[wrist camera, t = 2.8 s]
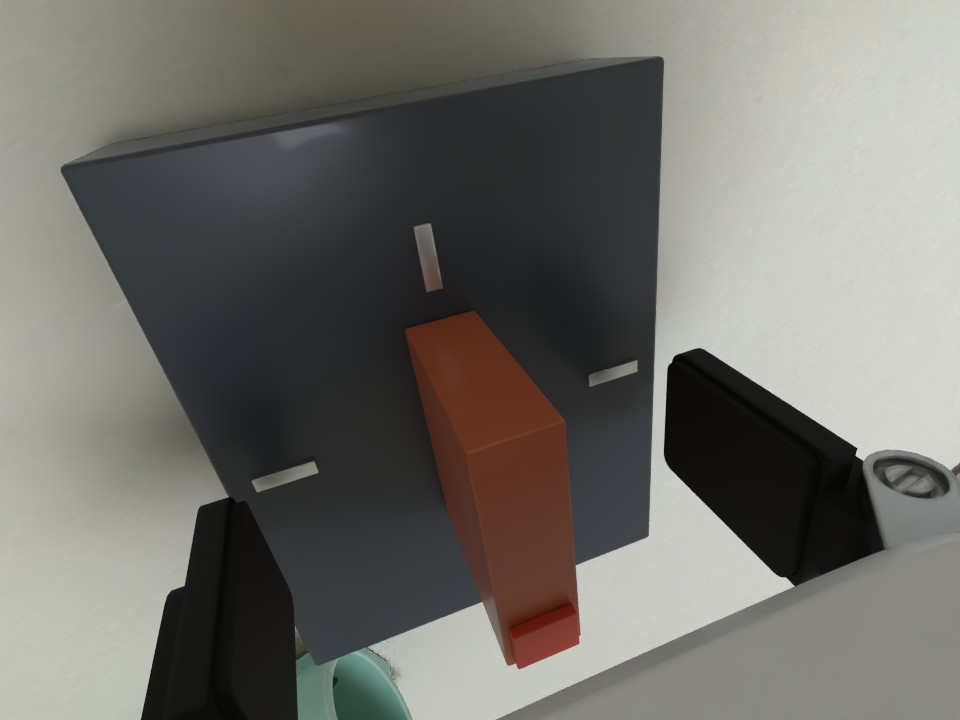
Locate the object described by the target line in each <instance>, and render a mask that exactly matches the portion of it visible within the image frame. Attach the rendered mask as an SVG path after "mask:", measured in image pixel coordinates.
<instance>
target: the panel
mask: <svg viewBox="0 0 960 720" xmlns="http://www.w3.org/2000/svg"><path fill="white" fill-rule="evenodd" d="M663 74H664V60H663V58H662V57H660V56H653V57H623V58H592V59H585V60H580V61H574V62H568V63H563V64H557V65H552V66H546V67H540V68H535V69H529V70H523V71H518V72H512V73H506V74H501V75H495V76H490V77H484V78H478V79H473V80H467V81H461V82H456V83H450V84H445V85H439V86H433V87H428V88H422V89H416V90H411V91H405V92H399V93H394V94H388V95H383V96H377V97H371V98H366V99H360V100H354V101H349V102H343V103H338V104H332V105H326V106H321V107H315V108H309V109H304V110H298V111H292V112H287V113H281V114H276V115H270V116H264V117H259V118H253V119H247V120H242V121H236V122H231V123H225V124H219V125H214V126H208V127H202V128H197V129H191V130H185V131H180V132H174V133H169V134H163V135H157V136H152V137H146V138H140V139H135V140H129V141H124V142H118V143H112V144H109V145H106V146H104V147H102V148H100V149H98V150H95V151H93V152H91V153H89V154H86V155H84V156H82V157H80V158H78V159H75V160H73V161H71V162H69V163H67V164H64V165H63V166H62V167H61V173H62V175H63V177H64V179H65V181H66V183H67V185H68V187H69V189H70V191H71V192H72V194H73V196H74V198H75V200H76V202H77V204H78V206H79V208H80V210H81V212H82V214H83V216H84V218H85V220H86V222H87V223H88V225H89V227H90V229H91V231H92V233H93V235H94V237H95V239H96V241H97V243H98V245H99V247H100V249H101V251H102V253H103V254H104V256H105V258H106V260H107V262H108V264H109V266H110V268H111V270H112V272H113V274H114V276H115V278H116V280H117V282H118V284H119V285H120V287H121V289H122V291H123V293H124V295H125V297H126V299H127V301H128V303H129V305H130V307H131V309H132V311H133V313H134V315H135V316H136V318H137V320H138V322H139V324H140V326H141V328H142V330H143V332H144V334H145V336H146V338H147V340H148V342H149V344H150V346H151V347H152V349H153V351H154V353H155V355H156V357H157V359H158V361H159V363H160V365H161V367H162V369H163V371H164V373H165V375H166V377H167V378H168V380H169V382H170V384H171V386H172V388H173V390H174V392H175V394H176V396H177V398H178V400H179V402H180V404H181V406H182V408H183V409H184V411H185V413H186V415H187V417H188V419H189V421H190V423H191V425H192V427H193V429H194V431H195V433H196V435H197V437H198V439H199V440H200V442H201V444H202V446H203V448H204V450H205V452H206V454H207V456H208V458H209V460H210V462H211V464H212V466H213V468H214V470H215V471H216V473H217V475H218V477H219V479H220V481H221V483H222V485H223V487H224V489H225V491H226V493H227V495H228V497H233V498H234V499H235V501H236V502H240V501H246V502H247V504H248V505H249V507H250V509H251V511H252V513H253V515H254V518H255V520H256V522H257V524H258V526H259V528H260V530H261V532H262V534H263V536H264V538H265V540H266V542H267V544H268V546H269V548H270V550H271V552H272V554H273V556H274V558H275V560H276V562H277V564H278V566H279V568H280V570H281V572H282V574H283V576H284V578H285V580H286V582H287V584H288V586H289V589H290V591H291V594H292V598H293V604H294V622H295V626H296V628H297V630H298V632H299V634H300V636H301V638H302V640H303V642H304V644H305V646H306V648H307V650H308V652H309V654H310V656H311V657H312V659H313V661H314V663H315V665H316V666H320V665H322V664H325V663H327V662H330V661H332V660H335V659H337V658H340V657H343V656H345V655H348V654H350V653H353V652H355V651H358V650H360V649H363V648H366V647H368V646H371V645H373V644H376V643H378V642H381V641H383V640H386V639H389V638H391V637H394V636H396V635H399V634H401V633H404V632H406V631H409V630H412V629H414V628H417V627H419V626H422V625H424V624H427V623H429V622H432V621H435V620H437V619H440V618H442V617H445V616H447V615H450V614H452V613H455V612H458V611H460V610H463V609H465V608H468V607H470V606H473V605H475V604H478V603H481V602H482V599H481V596H480V594H479V591H478V589H477V586H476V584H475V581H474V578H473V576H472V573H471V571H470V568H469V566H468V563H467V560H466V558H465V555H464V553H463V550H462V548H461V545H460V542H459V540H458V537H457V535H456V532H455V530H454V527H453V524H452V522H451V519H450V517H449V514H448V512H447V508H446V504H445V499H444V495H443V491H442V487H441V483H440V478H439V474H438V470H437V466H436V461H435V457H434V453H433V449H432V444H431V440H430V436H429V432H428V427H427V423H426V419H425V415H424V410H423V406H422V402H421V398H420V394H419V389H418V385H417V381H416V377H415V372H414V368H413V364H412V360H411V355H410V351H409V347H408V343H407V338H406V334H405V329H407V328H410V327H414V326H418V325H421V324H425V323H429V322H432V321H436V320H440V319H443V318H447V317H451V316H454V315H458V314H462V313H466V312H469V311H475V312H476V313H477V314H478V316H479V317H480V318H481V319H482V320H483V322H484V323H485V324H486V325H487V326H488V328H489V329H490V330H491V331H492V333H493V334H494V335H495V336H496V337H497V339H498V340H499V341H500V342H501V343H502V345H503V346H504V347H505V348H506V350H507V351H508V352H509V353H510V354H511V356H512V357H513V358H514V359H515V360H516V362H517V363H518V364H519V365H520V367H521V368H522V369H523V370H524V371H525V373H526V374H527V375H528V376H529V377H530V379H531V380H532V381H533V382H534V384H535V385H536V386H537V387H538V388H539V390H540V391H541V392H542V393H543V394H544V396H545V397H546V398H547V399H548V401H549V402H550V403H551V404H552V405H553V407H554V408H555V409H556V410H557V411H558V413H559V414H560V415H561V416H562V418H563V419H564V420H565V425H566V439H567V453H568V467H569V481H570V495H571V509H572V523H573V537H574V552H575V565H578V564H580V563H583V562H585V561H588V560H590V559H593V558H595V557H598V556H601V555H603V554H606V553H608V552H611V551H613V550H616V549H618V548H621V547H624V546H626V545H629V544H631V543H634V542H636V541H639V540H641V539H644V538H647V537H648V536H649V510H650V479H651V448H652V416H653V385H654V354H655V323H656V292H657V261H658V230H659V199H660V168H661V137H662V105H663Z"/></svg>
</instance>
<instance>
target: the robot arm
mask: <svg viewBox="0 0 960 720" xmlns="http://www.w3.org/2000/svg"><path fill="white" fill-rule="evenodd" d="M856 451H857V448H856V447H854V446H853V445H851V444H850V443H848V442H847V441H845V440H843V439H842V438H840V437H839V436H837V435H836V434H834V433H833V432H831V431H830V430H828V429H826V428H825V427H823V426H822V425H820V424H819V423H817V422H816V421H814V420H812V419H811V418H809V417H808V416H806V415H805V414H803V413H802V412H800V411H799V410H797V409H795V408H794V407H792V406H791V405H789V404H788V403H786V402H785V401H783V400H781V399H780V398H778V397H777V396H775V395H774V394H772V393H771V392H769V391H768V390H766V389H764V388H763V387H761V386H760V385H758V384H757V383H755V382H754V381H752V380H750V379H749V378H747V377H746V376H744V375H743V374H741V373H740V372H738V371H736V370H735V369H733V368H732V367H730V366H729V365H727V364H726V363H724V362H723V361H721V360H719V359H718V358H716V357H715V356H713V355H712V354H710V353H709V352H707V351H705V350H704V349H701V348H697V349H693V350H690V351H687V352H684V353H681V354H678V355H676V356H674V358H673V361H672V363H671V364H669V366H668V371H667V393H666V416H665V439H664V457H665V461H666V463H667V465H668V466H669V468H670V469H671V470H672V471H673V472H674V473H675V474H676V475H677V476H678V477H679V478H680V479H681V480H682V481H683V482H684V483H685V484H686V485H687V486H688V487H689V488H690V489H691V490H692V491H693V492H694V493H695V494H696V495H697V496H698V497H699V498H700V499H701V500H702V501H703V502H704V503H705V504H706V505H707V506H708V507H709V508H710V509H711V510H712V511H713V512H714V513H715V514H716V515H717V516H718V517H719V518H720V519H721V520H722V521H723V522H724V523H725V524H726V525H727V526H728V527H729V528H730V529H731V530H732V531H733V532H734V533H735V534H736V535H737V536H738V537H739V538H740V539H741V540H742V541H743V542H744V543H745V544H746V545H747V546H748V547H749V548H750V549H751V550H752V551H753V552H754V553H755V554H756V555H757V556H758V557H759V558H760V559H761V560H762V561H763V562H764V563H765V564H766V565H767V566H768V567H769V568H770V569H771V570H772V571H773V572H774V573H775V574H776V575H778V576H780V577H786V578H787V579H788V580H789V581H790V582H791V583H792V584H793V585H794V586H795V587H793V588H791V589H788V590H786V591H784V592H782V593H779V594H777V595H775V596H772V597H770V598H768V599H766V600H763V601H761V602H759V603H757V604H754V605H752V606H750V607H747V608H745V609H743V610H741V611H738V612H736V613H734V614H731V615H729V616H727V617H725V618H722V619H720V620H718V621H716V622H713V623H711V624H709V625H706V626H704V627H702V628H700V629H697V630H695V631H693V632H691V633H688V634H686V635H684V636H682V637H679V638H677V639H675V640H673V641H670V642H668V643H666V644H664V645H661V646H659V647H657V648H655V649H652V650H650V651H648V652H646V653H643V654H641V655H639V656H637V657H634V658H632V659H630V660H628V661H625V662H623V663H621V664H619V665H617V666H614V667H612V668H610V669H608V670H605V671H603V672H601V673H599V674H596V675H594V676H592V677H590V678H587V679H585V680H583V681H581V682H578V683H576V684H574V685H572V686H570V687H567V688H565V689H563V690H561V691H558V692H556V693H554V694H552V695H550V696H547V697H545V698H543V699H541V700H539V701H536V702H534V703H532V704H530V705H527V706H525V707H523V708H521V709H519V710H516V711H514V712H512V713H510V714H508V715H505V716H503V717H501V718H499V719H497V720H960V481H959V480H958V479H957V477H956V476H955V475H954V473H953V472H951V471H950V470H949V469H947V468H946V467H945V466H944V465H942V464H940V463H938V462H936V461H934V460H933V459H931V458H928V457H925V456H922V455H919V454H917V453H912V452H907V451H902V450H884V451H878V452H875V453H873V454H871V455H869V456H867V458H866V459H865V460H864V461H862V460H861V459H859V458H858V457H856V456H855V455H856ZM141 720H298V703H297V676H296V649H295V622H294V604H293V598H292V594H291V591H290V589H289V586H288V584H287V582H286V580H285V578H284V576H283V574H282V572H281V570H280V568H279V566H278V564H277V562H276V560H275V558H274V556H273V554H272V552H271V550H270V548H269V546H268V544H267V542H266V540H265V538H264V536H263V534H262V532H261V530H260V528H259V526H258V524H257V522H256V520H255V518H254V515H253V513H252V511H251V509H250V507H249V505H248V504H247V502H246V501H240V502H236V501H235V499H234V498H233V497H228V498H225V499H222V500H219V501H215V502H212V503H209V504H206V505H203V506H201V507H200V508H199V509H198V513H197V519H196V524H195V530H194V536H193V542H192V547H191V553H190V559H189V565H188V570H187V576H186V582H185V586H183V587H180V588H178V589H175V590H172V591H171V592H170V593H169V594H168V596H167V599H166V602H165V605H164V610H163V615H162V620H161V625H160V630H159V635H158V639H157V644H156V649H155V654H154V659H153V664H152V669H151V674H150V678H149V683H148V688H147V693H146V698H145V703H144V708H143V712H142V717H141Z"/></svg>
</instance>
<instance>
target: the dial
mask: <svg viewBox="0 0 960 720" xmlns="http://www.w3.org/2000/svg"><path fill="white" fill-rule="evenodd" d="M405 334H406V338H407V343H408V347H409V351H410V355H411V360H412V364H413V368H414V372H415V377H416V381H417V385H418V389H419V394H420V398H421V402H422V406H423V410H424V415H425V419H426V423H427V427H428V432H429V436H430V440H431V444H432V449H433V453H434V457H435V461H436V466H437V470H438V474H439V478H440V483H441V487H442V491H443V495H444V499H445V504H446V508H447V512H448V514H449V517H450V519H451V522H452V524H453V527H454V530H455V532H456V535H457V537H458V540H459V542H460V545H461V548H462V550H463V553H464V555H465V558H466V560H467V563H468V566H469V568H470V571H471V573H472V576H473V578H474V581H475V584H476V586H477V589H478V591H479V594H480V596H481V599H482V602H483V604H484V607H485V609H486V612H487V614H488V617H489V620H490V622H491V625H492V627H493V630H494V632H495V635H496V638H497V640H498V643H499V645H500V648H501V650H502V653H503V656H504V658H505V661H506V663H507V665H508V666H510V665H513V664H515V663H516V665H517V667H518V669H521V668H524V667H526V666H528V665H531V664H533V663H535V662H538V661H540V660H542V659H545V658H547V657H549V656H552V655H554V654H556V653H559V652H561V651H564V650H566V649H568V648H571V647H573V646H575V645H578V644H579V636H580V622H579V608H578V594H577V580H576V566H575V552H574V537H573V523H572V509H571V495H570V481H569V467H568V453H567V439H566V425H565V420H564V419H563V418H562V416H561V415H560V414H559V413H558V411H557V410H556V409H555V408H554V407H553V405H552V404H551V403H550V402H549V401H548V399H547V398H546V397H545V396H544V394H543V393H542V392H541V391H540V390H539V388H538V387H537V386H536V385H535V384H534V382H533V381H532V380H531V379H530V377H529V376H528V375H527V374H526V373H525V371H524V370H523V369H522V368H521V367H520V365H519V364H518V363H517V362H516V360H515V359H514V358H513V357H512V356H511V354H510V353H509V352H508V351H507V350H506V348H505V347H504V346H503V345H502V343H501V342H500V341H499V340H498V339H497V337H496V336H495V335H494V334H493V333H492V331H491V330H490V329H489V328H488V326H487V325H486V324H485V323H484V322H483V320H482V319H481V318H480V317H479V316H478V314H477V313H476V312H475V311H469V312H466V313H462V314H458V315H454V316H451V317H447V318H443V319H440V320H436V321H432V322H429V323H425V324H421V325H418V326H414V327H410V328H407V329H405Z"/></svg>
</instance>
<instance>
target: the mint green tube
mask: <svg viewBox="0 0 960 720" xmlns="http://www.w3.org/2000/svg"><path fill="white" fill-rule="evenodd" d="M296 676H297V703H298V720H413V719H412V717H411V714H410V712H409V709H408V707H407V705H406V703H405V701H404V699H403V697H402V695H401V693H400V691H399V689H398V687H397V686H396V684H395V682H394V681H393V679H392V677H391V672H390V668H389V664H388V663H387V662H386V661H385V660H383V659H382V658H380V657H379V656H377V655H376V654H374V653H373V652H371V651H370V650H368V649H367V648H363V649H360V650H358V651H355V652H353V653H350V654H348V655H345V656H343V657H340V658H337V659H335V660H332V661H330V662H327V663H325V664H322V665H320V666H316V665H315V663H314V661H313V659H312V657H311V656H310V654H309V652H308V653H306V654H305V655H304V656H302V657H301V658H300V659H298V660H297V661H296ZM333 676H334V677H333Z"/></svg>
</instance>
